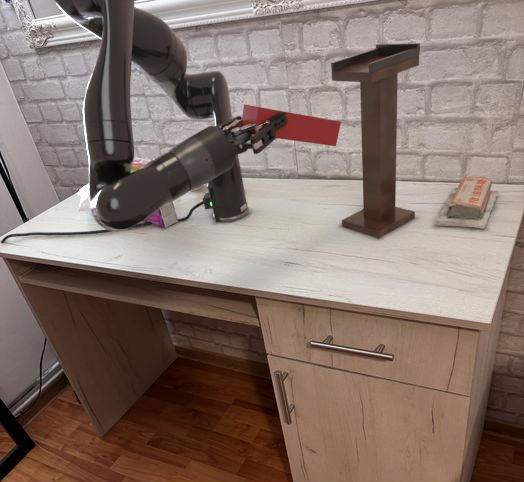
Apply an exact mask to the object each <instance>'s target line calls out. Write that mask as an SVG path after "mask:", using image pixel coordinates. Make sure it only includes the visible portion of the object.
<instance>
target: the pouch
mask: <svg viewBox="0 0 524 482" xmlns="http://www.w3.org/2000/svg"><path fill="white" fill-rule="evenodd" d="M77 195H78V196H79V197H80V202H79V205H78V207H77V212H79V213H82V214H92V212H91V207H90V197H89V183H88V184H86V185H83V187H81V188H80V189H79V191H78V192H77Z"/></svg>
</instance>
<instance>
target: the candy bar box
mask: <svg viewBox="0 0 524 482" xmlns="http://www.w3.org/2000/svg"><path fill="white" fill-rule="evenodd" d="M151 160H153V159H151V158H145V157H142V156H141V157H140V156H134V162H133V164H132V167H131V173H132V172H134V171H136V170H138V169H141V168H142V167H143V166H144V165H145V164H147V163H148V162H150V161H151ZM178 219H179V218H178V216H177V212H176V209H175V204H174V201H172V202H170V203H168V204H166V205H164V206H162V207H161V208H160V209H158V210H157V211H156V212H154V213H153V214H152V215H150V216H149V217H147V218H146V219H144V220H143V221H142V222H143V223H144V222H149V221H150V222H152V224H151V225H153V226H157V227H161V228H163V229H167V228H169V227H171V226H173V225H175V224H176V223H179V222H178Z"/></svg>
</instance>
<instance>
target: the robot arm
mask: <svg viewBox="0 0 524 482" xmlns="http://www.w3.org/2000/svg"><path fill="white" fill-rule="evenodd" d="M53 1H54V2H55V4H56V5H57V6H58V8H59V9H60V10H61V12H62V13H63V14H64V15H65V16H66V17H67V18H68V19H70V20H72V21H73V22H74V23H75V24H77V25H78V26H80V27H82V28H83V29H85V30H87V31H88V32H89V33H91V34H92V35H95V36H96V37H97V38H99V39H100V40H101V41H100V47H99V49H98V50H99V51H98V54H97V59H96V61H95V64H94V66H93V70H92V72H91V75H90V78H89V81H88V83H87V87H86V90H85V93H84V99H83V107H82V114H83V125H84V127H83V128H84V136H85V144H86V150H87V156H88V184H89V197H90V207H91V212H92V213H91V215H92V217H93V219H94V220H95V222H96V224H98V225H99V226H100V227H101V228H103V229H98V230H87V231H86V230H85V231H53V232H52V231H51V232H49V231H47V232H45V231H44V232H43V231H32V232H23V233H22V232H21V233H10V234H7V235H6V236H4V237H3V238H2V239H1V241H0V242H1V244H4V243H5V242H6V241H7V240H9V238H14V237H15V238H16V237H30V236H82V235H95V234H106V233H111V232H119V231H124V230H129V229H134V228H135V229H136V228H140V227H144V226H148V225H149V226H150V225H153V224H152V222H150V221H149V222H144V221H143V220H144V219H146V218H147V217H149V216H150V215H152V214H153V213H154V212H156V211H157V210H158V209H160V208H161V207H162V206H164V205H166V204H168V203H170V202H172V201H173V202H175V201H176V200H178V199H180V198H181V197H183V196H184V195H186V194H188V193H190V192H191V190H194V189H196V188H199V187H201V186H202V187H203V186H204V185H205V186H206V191H207V192H205V193H204V195H203V197H202V201H200V202H198V203H196V204H195V205H193V207H192V208H190V210H189V212H188V214H187V215H186V216H184V217H182V218H177V219H178V222H177V223H180V222H185V221H187V220H189V219H190V218H191V216H192V214H193V213H194V211H195V210H196V209H198V208H199V207H201V206H204V210H211V212H212V215H213V219H214V221H215V223H227V222H235V221H237V220H238V221H239V220H240V219H242V218H245V217H246V216H247V215H248V214H249V212H250V211H249V206H248V202H247V201H248V200H247V197H246V190H245V185H244V180H243V175H242V169H241V163H240V159H239V155H242V154H244V153H246V152H248V150H252V153H253V154H254V155H258V154H260V153H261V152H262V151H263V150H265V149H266V148H267V147H268V146H269V145H270V144H272V143H273V142H274V141H275V140H276V139H277V138H276V134H275V131H276V130H278V129H280V128H281V127H283V126H285V125H286V124H287V122H288V121H287V116H286V113H285V112H286V111H284V110H280V111H281V112H279V113H278V114H276V115H274V116H272V117H271V118H269V119H267V120H265V121H263V122H261V123H259V124H255V123H254V122H253V123H250V124H248V125H245V126H243V127H242V125H243V120H242V115H237V116H236V117H233V113H232V105H231V97H230V89H229V86H228V81H227V79H226V77H225V75H224V74H223V73H222V72H221V71H220V70H211V71H205V72H197V73H187V69H188V53H187V49H186V47H185V44H184V42H183V41H182V40H181V39H180V37H179V36H178V35H177V34H176V32H175V31H174V30H173V29H172V28H171V26H170V25H169V24H168V23H167V22H165V21H164V20H163V19H161V18H160V17H159V16H157V15H155V14H153V13H151V12H149V11H147V10H144V9H143V8H142V9H141V8H139V7H136V6H135V0H53ZM132 65H133V66H134V67H135V68H136V69H137V70H138V71H140V73H142V74H143V75H144V76H145V77H147V78H148V79H149V80H150V81H151V82H153V83H154V84H156V86H157V87H159V88H160V89H161V90H162V91H163V92H164V93H165V94H166V95H167V96H168V97H169V98H170V99H171V100H172V102H174V104H175V105H176V106H177V107H178V108H179V109H180V111H181V113H183V114H184V115H185V116H186V117H187V118H190V119H192V120H205V119H214V125H209V126H207V127H205V128H204V129H202V130H200V131H198V132H197V133H194V134H192V135H191V136H189V137H187V138H185V139H183V140H182V141H180V142H178V143H177V144H175V145H174V146H172V147H171V148H170V149H169V150H167V151H166V152H164V153H162V154H160V155H158V156H157V157H155V158H153V159H152V160H151V161H150V162H148V163H147V164H145V165H144V166H143V167H142V168H141V169H138V170H136V171H134V172H132V173H131V167H132V164H133V162H134V157H135V143H134V142H135V141H134V131H133V130H134V129H133V121H132V120H133V119H132V106H131V104H132V103H131V79H132ZM283 111H284V112H283ZM262 127H263V128H262ZM260 128H262V129H261V130H259V129H260ZM250 129H252V130H253V132H254V134H255V135H254V134H253V135H252V133H251V131H250ZM202 187H201V188H202ZM199 189H200V188H199ZM194 191H195V190H194Z"/></svg>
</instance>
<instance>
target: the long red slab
mask: <svg viewBox="0 0 524 482" xmlns="http://www.w3.org/2000/svg"><path fill="white" fill-rule="evenodd" d="M281 111H283V112H285V113H286V116H287V121H288V122H287V124H286V125H285V126H283V127H281V128H280V129H278V130H276V131H275V134H276V139H280V140H286V141H292V142H293V141H294V142H302V143H308V144H309V143H310V144H317V145H323V146H331V147H337V143H338V138H339V134H340V129H341V124H342V121H340V120H339V121H338V120H333V119H328V118H322V117H316V116H312V115H305V114H300V113H295V112H289V111H284V110H278V109H273V108H267V107H262V106H257V105H256V106H255V105H251V104H245V103H244V104H243V109H242V115H241V117H242V120H243V125H242V127H243V126H245V125H248V124H250V123H253V122H254V123H255V124H259V123H261V122H263V121H265V120H267V119H269V118H271V117H272V116H274V115H276V114H278V113H279V112H281ZM262 128H263V127H262ZM262 128H260V129H259V130H261V129H262ZM250 131H251V133H252V135H253V134H254V132H253V130H252V129H250ZM254 135H255V134H254Z"/></svg>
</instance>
